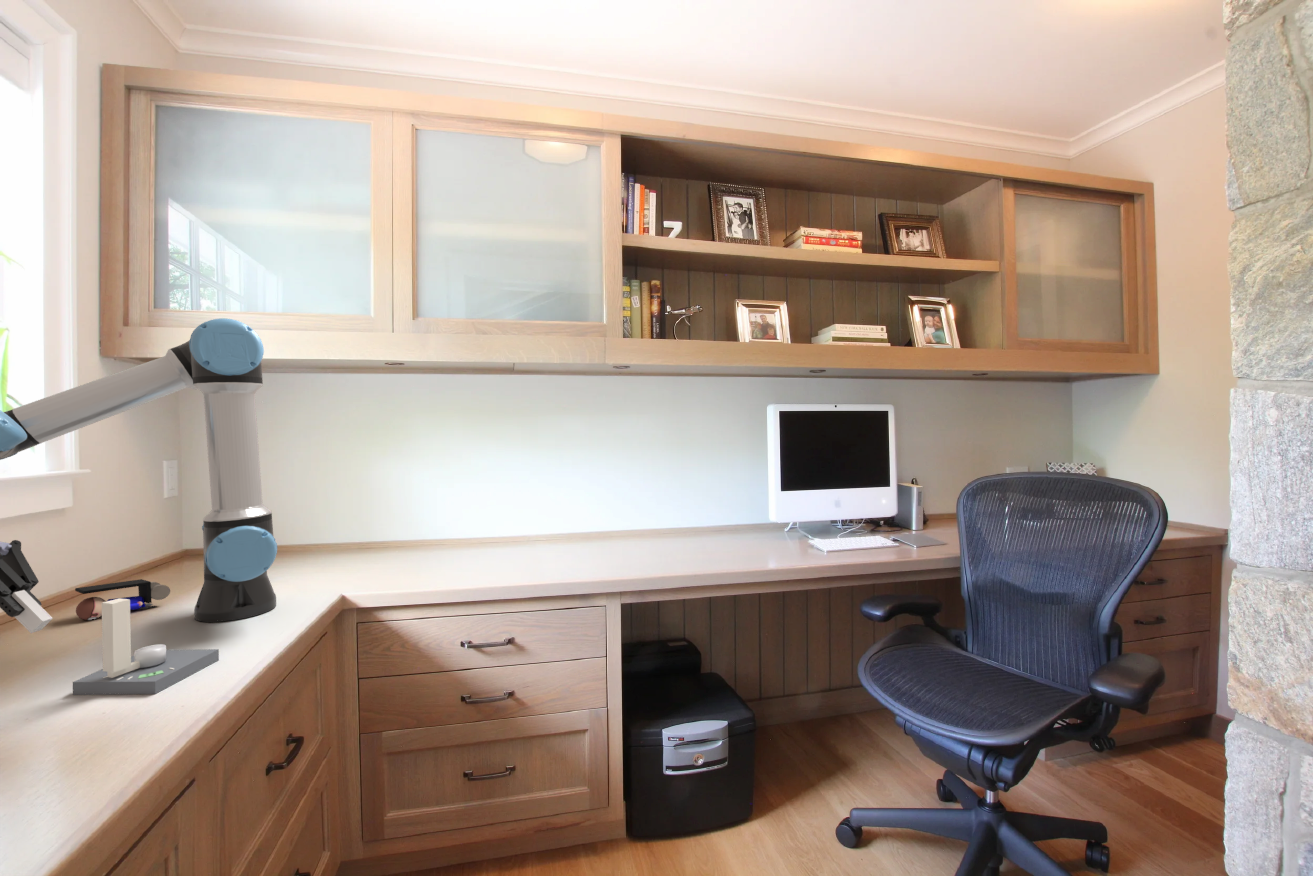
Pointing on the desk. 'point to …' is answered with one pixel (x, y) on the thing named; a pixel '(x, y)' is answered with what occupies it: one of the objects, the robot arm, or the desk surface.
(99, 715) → the desk surface
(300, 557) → the desk surface
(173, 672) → the dial plate
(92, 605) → the figurine character
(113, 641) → the lever
